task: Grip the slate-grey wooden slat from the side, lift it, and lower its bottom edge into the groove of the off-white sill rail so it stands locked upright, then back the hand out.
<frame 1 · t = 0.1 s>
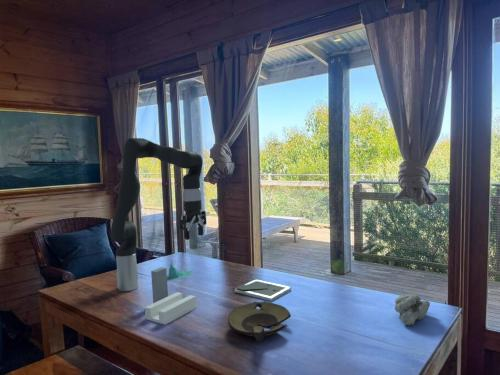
hand: (194, 237, 154), 29 cm above the table, tool pointing down, fingers open, 8 cm apart
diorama: (180, 276, 198), on the table
mineral: (411, 319, 134), on the table
sill rail: (171, 313, 148), on the table
oil lamp: (256, 332, 129), on the table
picture frame: (263, 292, 169), on the table
slate slat: (161, 303, 160), on the table
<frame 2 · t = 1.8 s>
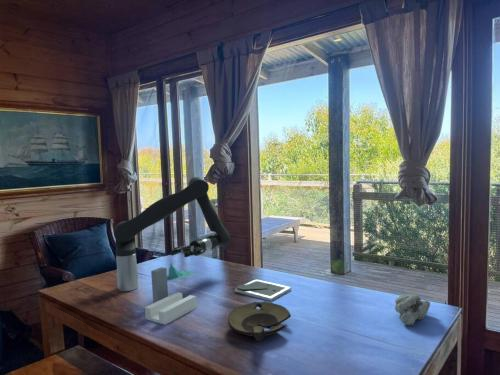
hand: (177, 254, 168), 19 cm above the table, tool horizontal, fingers open, 8 cm apart
nothing on the table moved.
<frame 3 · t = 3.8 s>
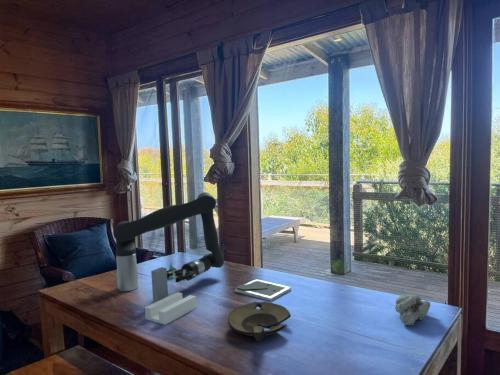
hand: (169, 278, 164), 9 cm above the table, tool horizontal, fingers open, 8 cm apart
nothing on the table moved.
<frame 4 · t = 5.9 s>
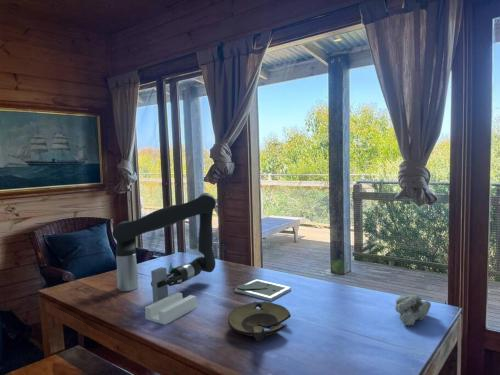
hand: (154, 285, 156), 9 cm above the table, tool horizontal, fingers closed on slate slat, 3 cm apart
slate slat: (161, 303, 160), on the table, touching gripper
everything else where it was.
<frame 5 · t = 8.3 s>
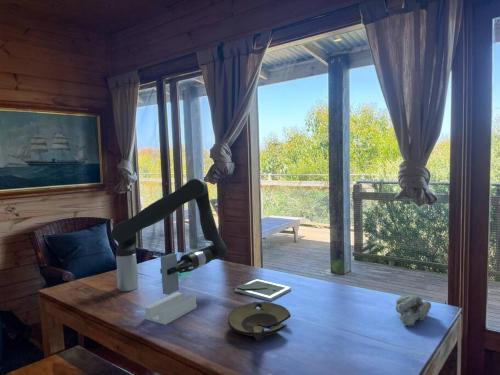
hand: (164, 272, 145), 18 cm above the table, tool horizontal, fingers closed on slate slat, 3 cm apart
slate slat: (171, 291, 148), point 9 cm above the table, touching gripper
everything else where it was.
when the fingers open (11 cm above the table, at t = 10.4 s): slate slat drops 1 cm, resting on sill rail.
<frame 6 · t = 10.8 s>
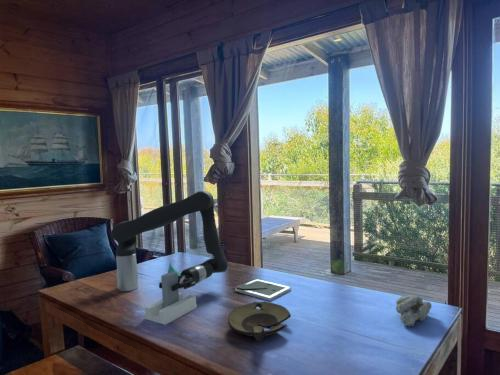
hand: (165, 287, 146), 11 cm above the table, tool horizontal, fingers open, 6 cm apart
slate slat: (171, 310, 148), point 1 cm above the table, touching sill rail
everything else where it was.
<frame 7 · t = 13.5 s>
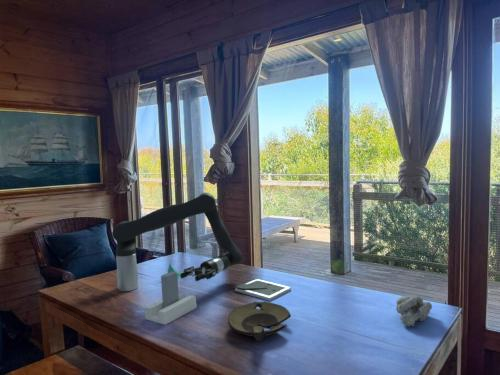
hand: (188, 277, 157), 12 cm above the table, tool horizontal, fingers open, 8 cm apart
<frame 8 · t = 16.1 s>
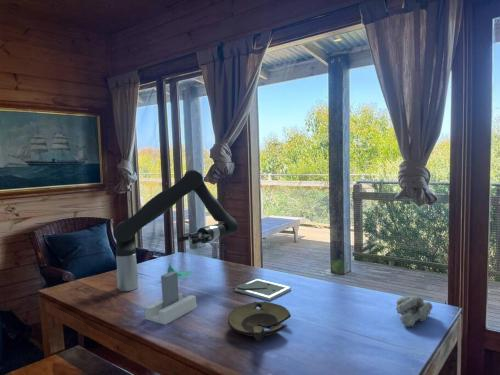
hand: (185, 241, 162), 26 cm above the table, tool horizontal, fingers open, 8 cm apart
at the end: slate slat inside the target area on the sill rail (0.1 cm from its centre), point 1.2 cm above the sill rail's base; slate slat tilted 0°; the gripper is holding nothing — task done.
